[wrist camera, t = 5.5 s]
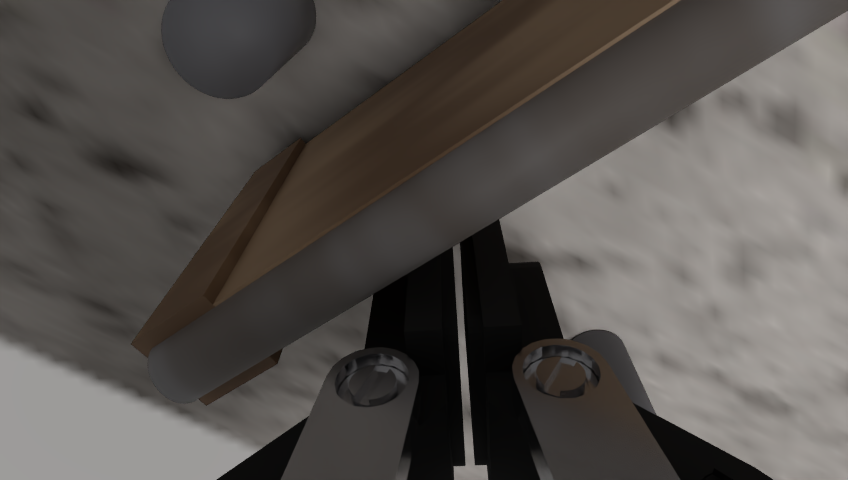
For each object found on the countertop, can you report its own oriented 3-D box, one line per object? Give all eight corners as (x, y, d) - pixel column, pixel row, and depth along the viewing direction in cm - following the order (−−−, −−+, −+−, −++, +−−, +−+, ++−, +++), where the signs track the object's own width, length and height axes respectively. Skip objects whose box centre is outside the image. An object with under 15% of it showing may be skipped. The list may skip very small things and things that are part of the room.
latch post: (565, 331, 18) (649, 587, 11) (628, 328, 18) (753, 585, 11) (561, 377, 19) (637, 640, 12) (621, 375, 19) (732, 638, 12)
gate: (607, -88, 12) (827, -106, 5) (639, -21, 12) (873, 41, 6) (255, 171, 15) (113, 368, 8) (295, 215, 15) (194, 431, 9)
